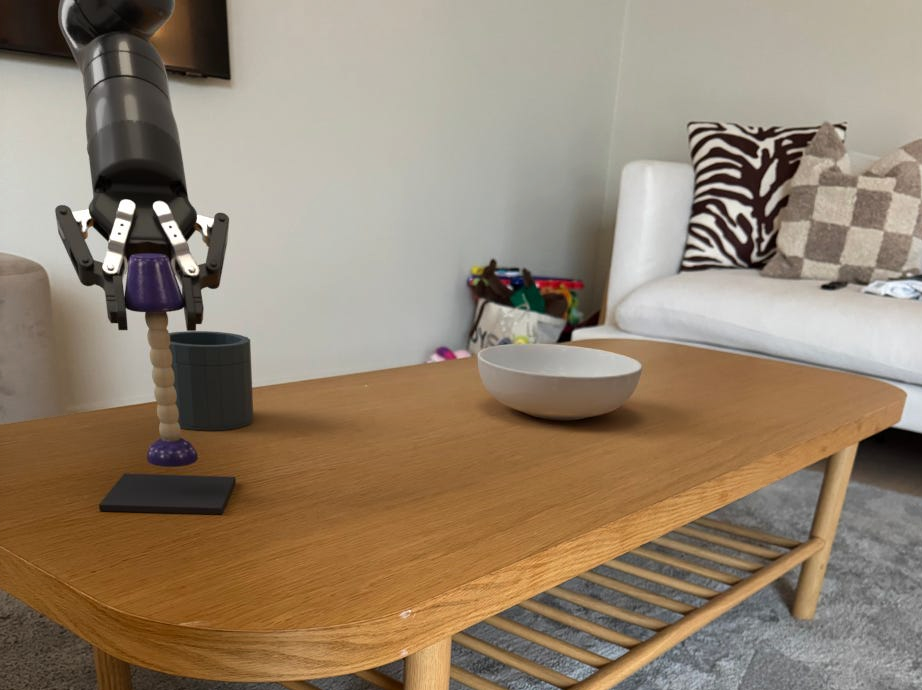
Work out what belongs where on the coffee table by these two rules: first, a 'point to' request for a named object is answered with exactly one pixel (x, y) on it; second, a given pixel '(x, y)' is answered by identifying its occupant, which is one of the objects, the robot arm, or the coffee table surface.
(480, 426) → the coffee table surface
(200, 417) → the jar
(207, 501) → the mat
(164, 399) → the toy lamp
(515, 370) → the serving bowl
